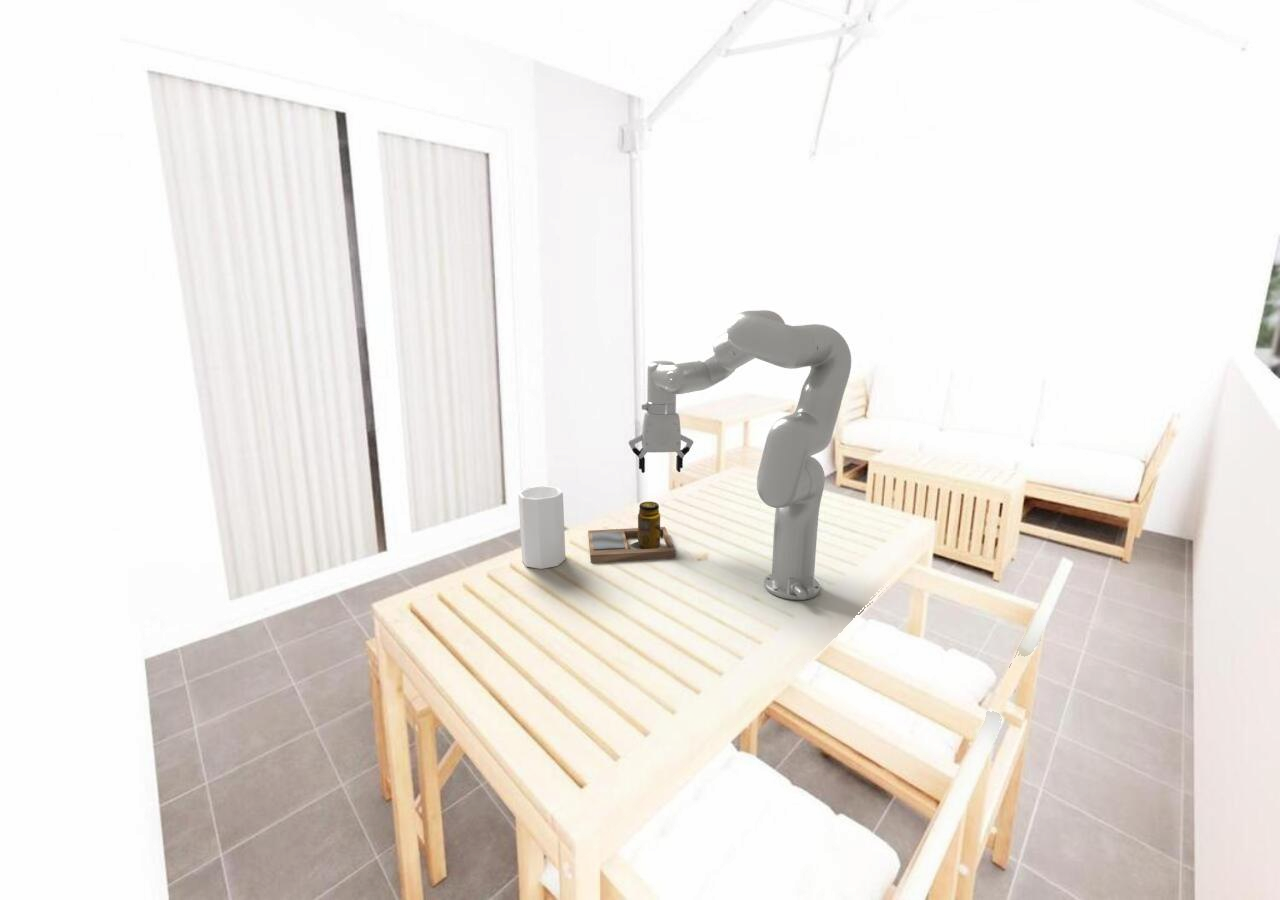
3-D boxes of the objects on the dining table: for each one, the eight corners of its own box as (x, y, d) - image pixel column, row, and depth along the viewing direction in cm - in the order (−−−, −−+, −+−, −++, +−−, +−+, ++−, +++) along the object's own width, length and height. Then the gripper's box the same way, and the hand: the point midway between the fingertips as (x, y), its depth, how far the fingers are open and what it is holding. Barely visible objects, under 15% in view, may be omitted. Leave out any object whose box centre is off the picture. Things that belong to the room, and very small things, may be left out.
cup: (513, 560, 155) (509, 492, 150) (547, 547, 163) (544, 482, 158) (540, 573, 147) (536, 502, 143) (574, 559, 155) (572, 491, 151)
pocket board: (675, 557, 156) (675, 549, 155) (590, 562, 153) (590, 554, 153) (665, 533, 172) (665, 525, 172) (588, 537, 170) (588, 529, 169)
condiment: (666, 545, 164) (667, 504, 161) (644, 554, 158) (644, 511, 155) (648, 538, 169) (648, 498, 166) (625, 547, 163) (625, 505, 160)
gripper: (629, 411, 153) (629, 475, 157) (696, 411, 154) (694, 474, 159) (627, 406, 160) (627, 467, 164) (691, 405, 162) (689, 466, 166)
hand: (660, 471), depth 162 cm, fingers open, 9 cm apart
